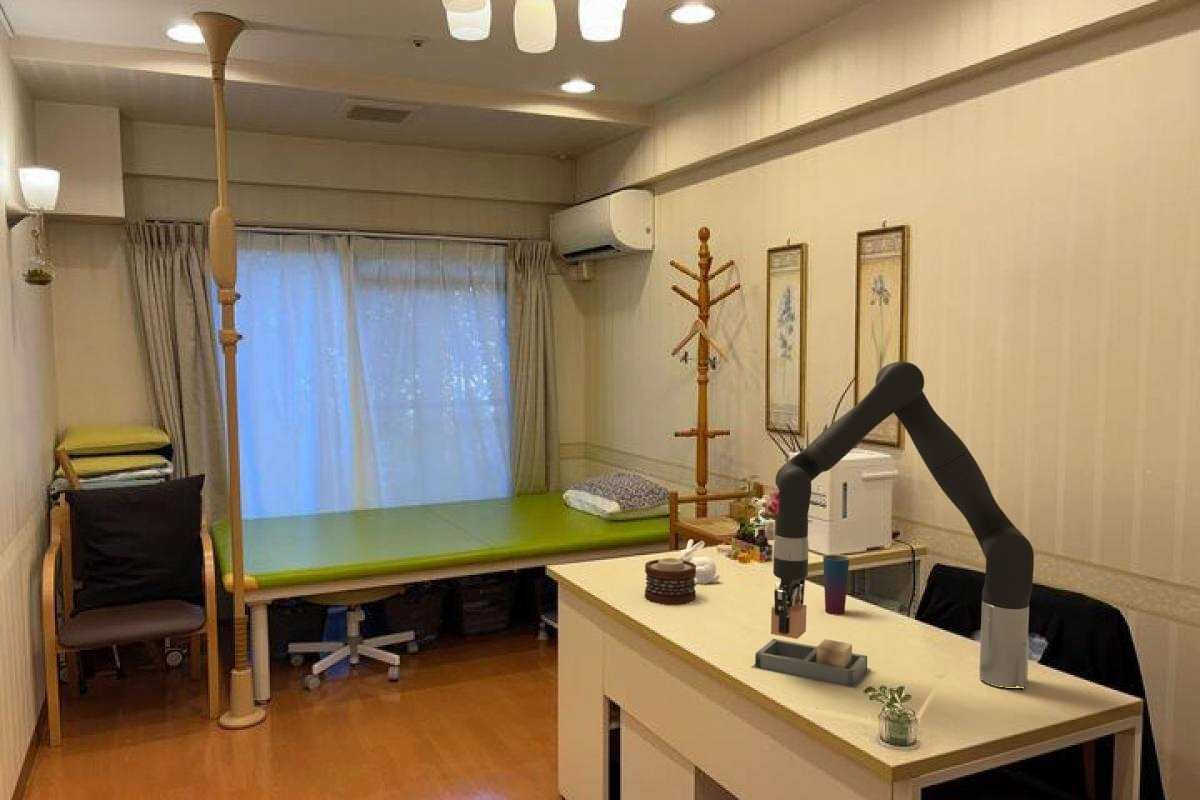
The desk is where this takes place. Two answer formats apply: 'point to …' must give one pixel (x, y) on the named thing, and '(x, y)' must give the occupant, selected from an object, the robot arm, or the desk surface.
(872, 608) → the desk surface
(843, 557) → the cup
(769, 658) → the pocket tray
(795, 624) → the terracotta cube
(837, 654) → the oak cube
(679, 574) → the spiked roller
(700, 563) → the rabbit
